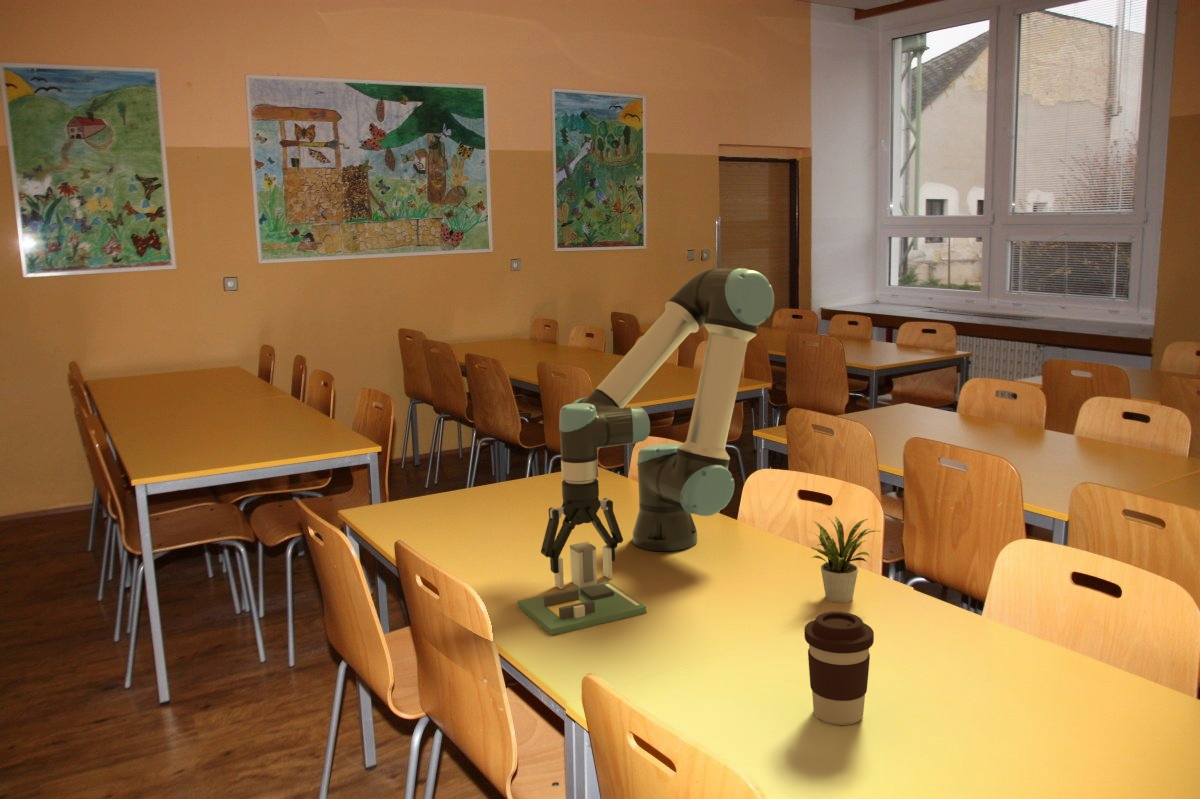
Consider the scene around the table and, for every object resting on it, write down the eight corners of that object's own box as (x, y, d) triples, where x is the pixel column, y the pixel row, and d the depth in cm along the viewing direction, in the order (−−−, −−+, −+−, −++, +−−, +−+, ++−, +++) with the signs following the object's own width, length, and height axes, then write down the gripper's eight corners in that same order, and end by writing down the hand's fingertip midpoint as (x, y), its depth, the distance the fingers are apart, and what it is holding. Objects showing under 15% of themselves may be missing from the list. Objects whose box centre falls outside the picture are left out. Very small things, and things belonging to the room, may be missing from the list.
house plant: (889, 589, 194) (890, 510, 191) (877, 615, 181) (879, 531, 178) (817, 581, 200) (817, 504, 197) (801, 605, 187) (801, 523, 184)
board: (607, 587, 200) (607, 572, 200) (646, 612, 186) (646, 596, 186) (517, 606, 192) (517, 591, 191) (551, 635, 178) (550, 618, 177)
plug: (588, 577, 206) (587, 541, 205) (598, 584, 202) (596, 547, 201) (571, 581, 204) (569, 545, 203) (580, 588, 200) (579, 550, 199)
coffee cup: (796, 701, 150) (796, 609, 147) (859, 696, 151) (860, 604, 148) (815, 733, 140) (816, 635, 138) (882, 728, 141) (884, 630, 138)
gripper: (620, 467, 208) (623, 566, 212) (520, 483, 198) (526, 586, 202) (637, 474, 202) (640, 576, 205) (535, 491, 191) (540, 598, 195)
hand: (583, 581), depth 203 cm, fingers open, 11 cm apart
